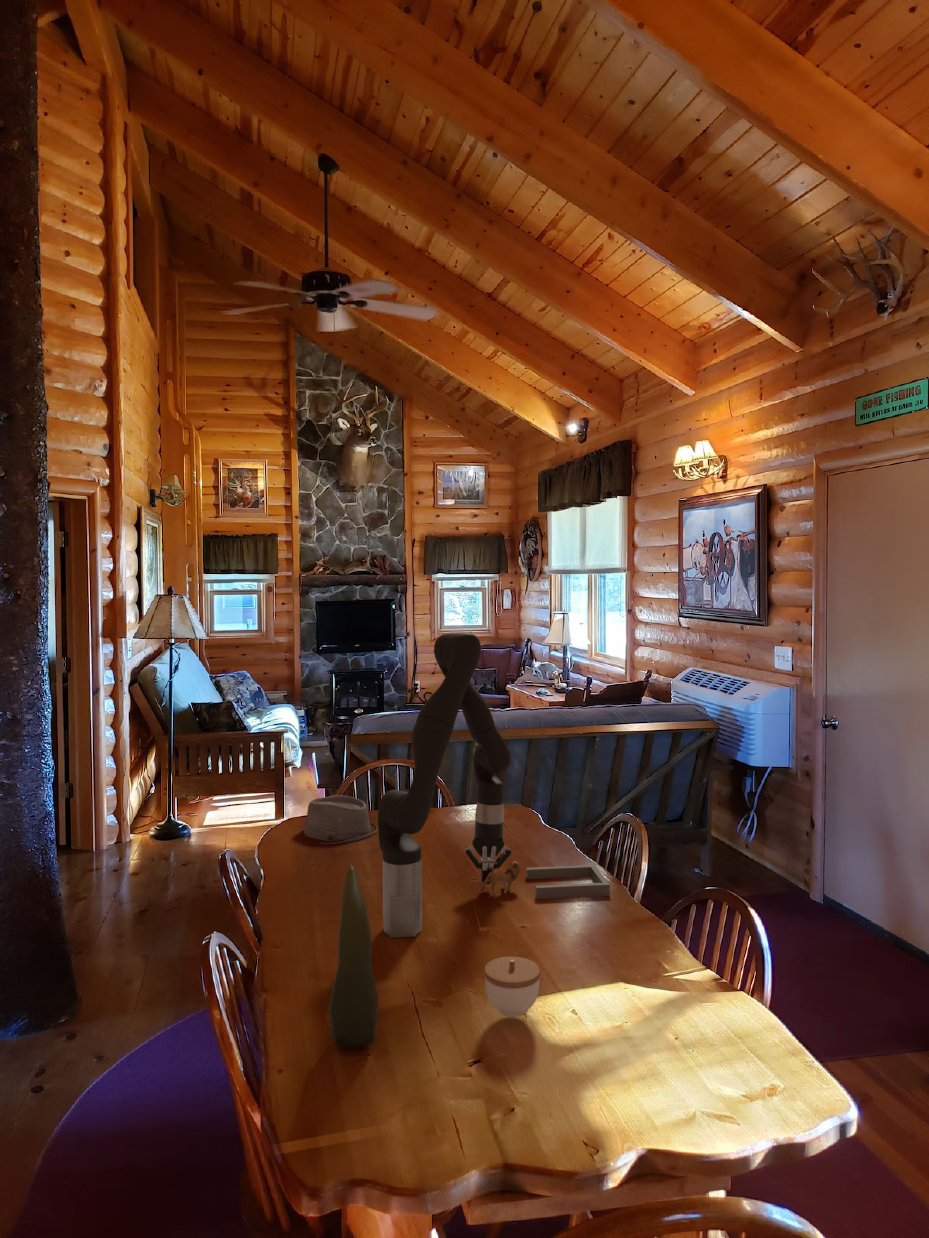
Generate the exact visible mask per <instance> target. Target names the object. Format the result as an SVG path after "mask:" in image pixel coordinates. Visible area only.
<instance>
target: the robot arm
mask: <svg viewBox="0 0 929 1238" xmlns="http://www.w3.org/2000/svg"><path fill="white" fill-rule="evenodd" d="M481 653H482V646H481V641H480V639H479V638H478V636H476V635H475V634H473V633H469V632H449V633H443V634H440V635H439V636H438V637H437V638H436V639H435V642H434V645H433V654H434V658H435V662H436V663H437V665H438V667H439V668H440V670H441V672H442V674H443V676H444V679H443V681H442V683H441V684H440V686H438V688H437V689H436V690H435V691H434V692H433V694H432V695H431V696H430V697H429V698H428V699H427V700H426V702H425V703H424V704H423V706H422V707H421V708H420V710H419V712H418V715H417V718H416V719H415V720H416V721H415V723H414V727H413V729H412V731H411V738H410V739H411V750H412V754H413V755H412V757H413V762H414V770H413V771H414V773H413V778H412V781H411V784H410V787H409V790H408V792H407V791H404V790H399V789H390V790H387V791H386V792H385V793H384V794H383V795H382V797H381V798H380V800H379V803H378V806H377V807H378V808H377V831H378V843H379V849H380V851H381V853H382V916H383V917H382V918H383V919H382V921H383V925H382V926H383V927H382V928H383V929H382V930H383V932H384V933H385V934H386V935H387V936H389V938H391V939H392V938H393V939H394V938H411V937H412V938H413V937H417V935H418V934H419V933H420V932H421V931H422V930H423V913H422V911H423V909H422V904H423V903H422V901H423V900H422V898H423V897H422V848H421V846H420V843H418V842H417V841H416V840H415V839H414V838H413V837H412V835H415V834H418V833H419V832H421V830H422V829H423V827H424V826H425V824H426V822H427V819H428V817H429V813H430V810H431V805H432V800H433V796H434V792H435V788H436V783H437V780H438V776H439V773H440V769H441V766H442V763H443V759H444V756H445V752H446V750H447V746H448V744H449V741H450V738H451V736H452V733H453V729H454V726H455V724H456V719H457V717H458V714H459V711H460V710H461V712H462V714H463V717H464V720H465V723H466V726H467V729H468V732H469V734H470V737H471V738H472V740H473V741H474V742H476V743H477V744H479V745H478V746H477V747H476V748H475V751H474V753H473V760H472V761H473V769H474V775H475V779H476V783H477V794H476V795H477V796H476V800H477V801H476V806H475V814H474V818H475V822H474V838H473V840H472V844H471V845H470V846H466V847H464V851H465V855H467V857H468V858H469V860H471V862H472V863H473V865H474V866H475V868H476V869H478V870H479V869H480V870H481V871H480V872H481V873H480V874H481V875H480V879H481V880H480V881H481V882H482V883H483V882H484V881H485V879H486V877H487V876H488V874H489V873H490V872H491V871H495V869H500V868H501V867H502V865H503V864H504V862H506V860H507V859H508V858H509V857H511V854H512V850H511V848H510V847H508V846H506V845H505V841H504V839H503V837H504V820H505V819H504V818H505V817H504V816H505V809H504V797H505V796H504V795H505V794H504V793H505V789H504V788H505V787H504V783H503V782H502V780H500V778H499V777H498V776H497V774H501V773H505V772H506V771H507V770H508V769H509V768H510V765H511V762H512V761H511V760H512V758H511V756H512V755H511V753H510V749H509V747H508V745H507V744H506V742H505V740H504V739H503V736H502V735H501V734H500V732H499V730H498V729H497V727H496V724H495V721H494V718H493V715H492V711H491V709H490V707H489V705H488V702H487V701H486V700H485V698H484V697H483V696H482V694H481V693H480V692H479V690H477V688H476V687H475V685H474V684H473V683H472V681H471V679H472V677H473V675H474V674H475V671H476V668H477V667H478V665H479V662H480V658H481ZM475 851H476V853H477V854H478V856H479V857H480V861H479V860H478V859H477V857H476V856H475ZM499 853H501V854H500V855H499ZM498 855H499V856H498ZM497 856H498V857H497ZM496 857H497V858H496ZM490 884H491V880H490V881H489V882H487V883H486V884H485V885H490Z"/></svg>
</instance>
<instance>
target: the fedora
mask: <svg viewBox="0 0 929 1238" xmlns="http://www.w3.org/2000/svg"><path fill="white" fill-rule="evenodd" d="M368 809H369V808H368V805H367V804H366V802H364V801H363V800H362V799H359V798H355V797H352V796H348V795H344V794H333V795H329V796H324V797H319V798H318V797H317V798H314V799H312V800H310V802H309V803H308V805H307V812H306V820H305V823H304V827H303V828H304V829H303V833H304V835H305V836H306V837H308V838H310V839H316V840H321V841H325V842H321V844H322V845H323V844H326V845H327V844H328V845H335V844H336V845H337V844H338V845H339V844H346V843H351V842H356V841H361V840H365V839H366V838H369V837H371V836H373V835H375V834H376V833H377V831H378V825H376V824H375V823H373V822H371V821H370V818H369V811H368ZM371 825H372V826H373V827H374V829H375V830H374V831H373V832H371V831H372V829H371ZM313 843H315V842H313Z"/></svg>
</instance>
